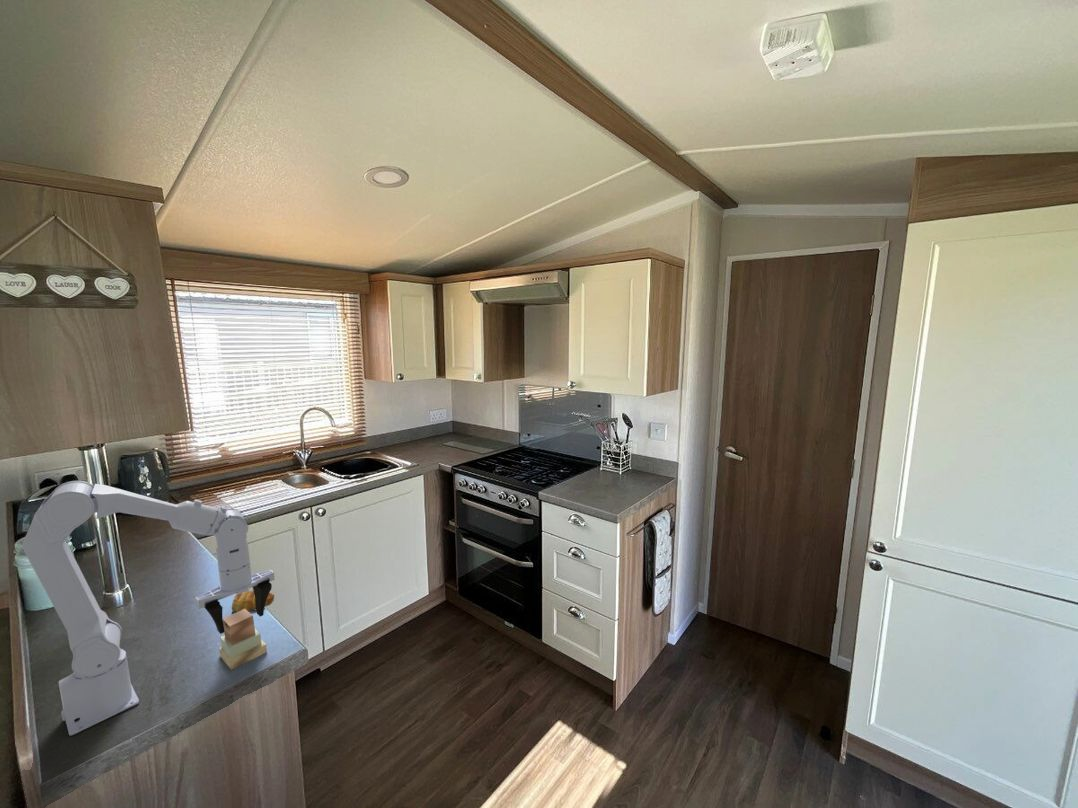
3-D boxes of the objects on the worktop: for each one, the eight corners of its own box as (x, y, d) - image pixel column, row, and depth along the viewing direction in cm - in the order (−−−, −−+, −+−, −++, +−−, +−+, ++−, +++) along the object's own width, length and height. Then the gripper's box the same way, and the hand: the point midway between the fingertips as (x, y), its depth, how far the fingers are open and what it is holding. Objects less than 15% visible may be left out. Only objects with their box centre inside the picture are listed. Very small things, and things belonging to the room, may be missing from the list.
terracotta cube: (232, 645, 97) (229, 626, 96) (224, 637, 100) (222, 618, 99) (255, 634, 100) (252, 615, 100) (247, 626, 103) (245, 608, 102)
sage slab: (230, 658, 96) (229, 648, 96) (221, 647, 100) (220, 637, 100) (261, 643, 101) (260, 633, 101) (251, 633, 105) (250, 623, 104)
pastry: (277, 596, 124) (276, 583, 124) (270, 610, 118) (268, 596, 117) (239, 601, 122) (238, 588, 122) (229, 616, 116) (227, 602, 115)
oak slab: (231, 672, 96) (230, 661, 95) (220, 658, 100) (219, 648, 100) (267, 654, 101) (266, 644, 101) (255, 641, 106) (254, 632, 105)
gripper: (200, 585, 90) (208, 647, 92) (277, 557, 101) (283, 613, 103) (189, 574, 94) (197, 634, 96) (265, 549, 106) (270, 603, 107)
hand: (241, 622), depth 100 cm, fingers open, 7 cm apart
